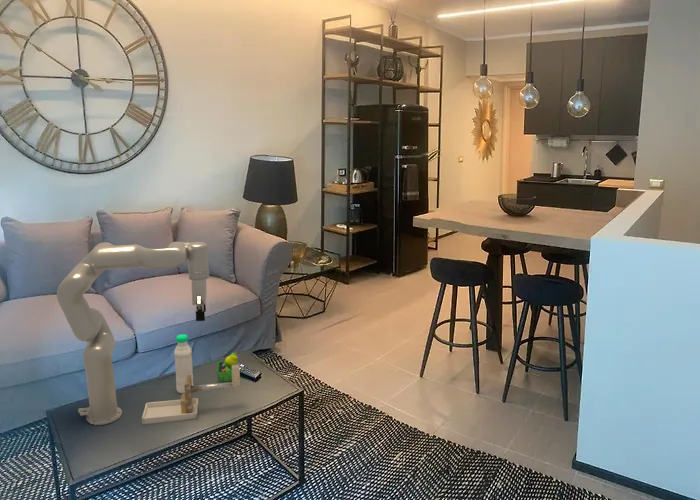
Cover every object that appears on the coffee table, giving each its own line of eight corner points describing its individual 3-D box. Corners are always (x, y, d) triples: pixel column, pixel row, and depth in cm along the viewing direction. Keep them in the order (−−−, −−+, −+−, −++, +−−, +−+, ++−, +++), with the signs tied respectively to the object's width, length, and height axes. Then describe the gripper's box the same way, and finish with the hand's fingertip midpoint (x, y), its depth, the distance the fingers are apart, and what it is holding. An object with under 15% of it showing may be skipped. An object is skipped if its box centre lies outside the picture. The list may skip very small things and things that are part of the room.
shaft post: (186, 416, 208) (184, 384, 205) (187, 405, 216) (185, 375, 212) (191, 415, 209) (189, 384, 205) (192, 405, 216) (191, 374, 213)
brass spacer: (181, 415, 209) (180, 401, 207) (182, 407, 214) (182, 394, 213) (185, 415, 209) (184, 401, 208) (187, 407, 215) (186, 393, 213)
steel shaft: (189, 393, 209) (188, 372, 207) (189, 389, 212) (188, 368, 209) (240, 388, 213) (239, 367, 211) (240, 385, 216) (239, 364, 214)
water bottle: (188, 395, 225) (185, 339, 219) (173, 393, 226) (169, 338, 220) (196, 387, 232) (193, 333, 226) (181, 385, 233) (178, 331, 227)
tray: (142, 424, 203) (141, 418, 202) (146, 408, 214) (146, 402, 214) (196, 419, 207) (196, 413, 207) (198, 403, 219) (198, 397, 218)
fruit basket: (218, 372, 246) (217, 349, 243) (238, 370, 248) (237, 347, 245) (217, 383, 235) (216, 360, 233) (238, 382, 237) (237, 358, 234)
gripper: (190, 268, 212) (192, 309, 216) (187, 281, 196) (189, 325, 200) (209, 267, 214) (211, 308, 218) (208, 280, 197) (210, 323, 201)
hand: (201, 316), depth 209 cm, fingers open, 9 cm apart
